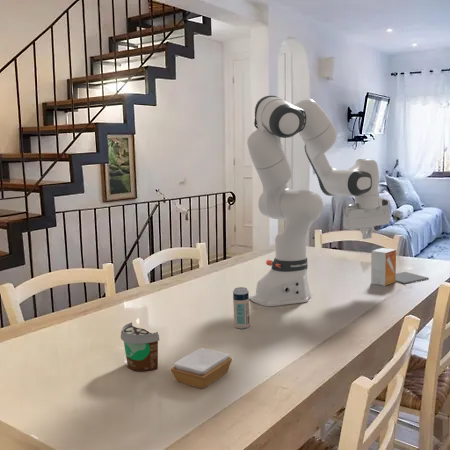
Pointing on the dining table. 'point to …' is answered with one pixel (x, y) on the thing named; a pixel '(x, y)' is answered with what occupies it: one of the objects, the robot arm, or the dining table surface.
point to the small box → (383, 266)
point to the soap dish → (201, 367)
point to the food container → (140, 348)
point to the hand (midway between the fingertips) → (367, 238)
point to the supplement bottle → (241, 307)
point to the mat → (408, 278)
